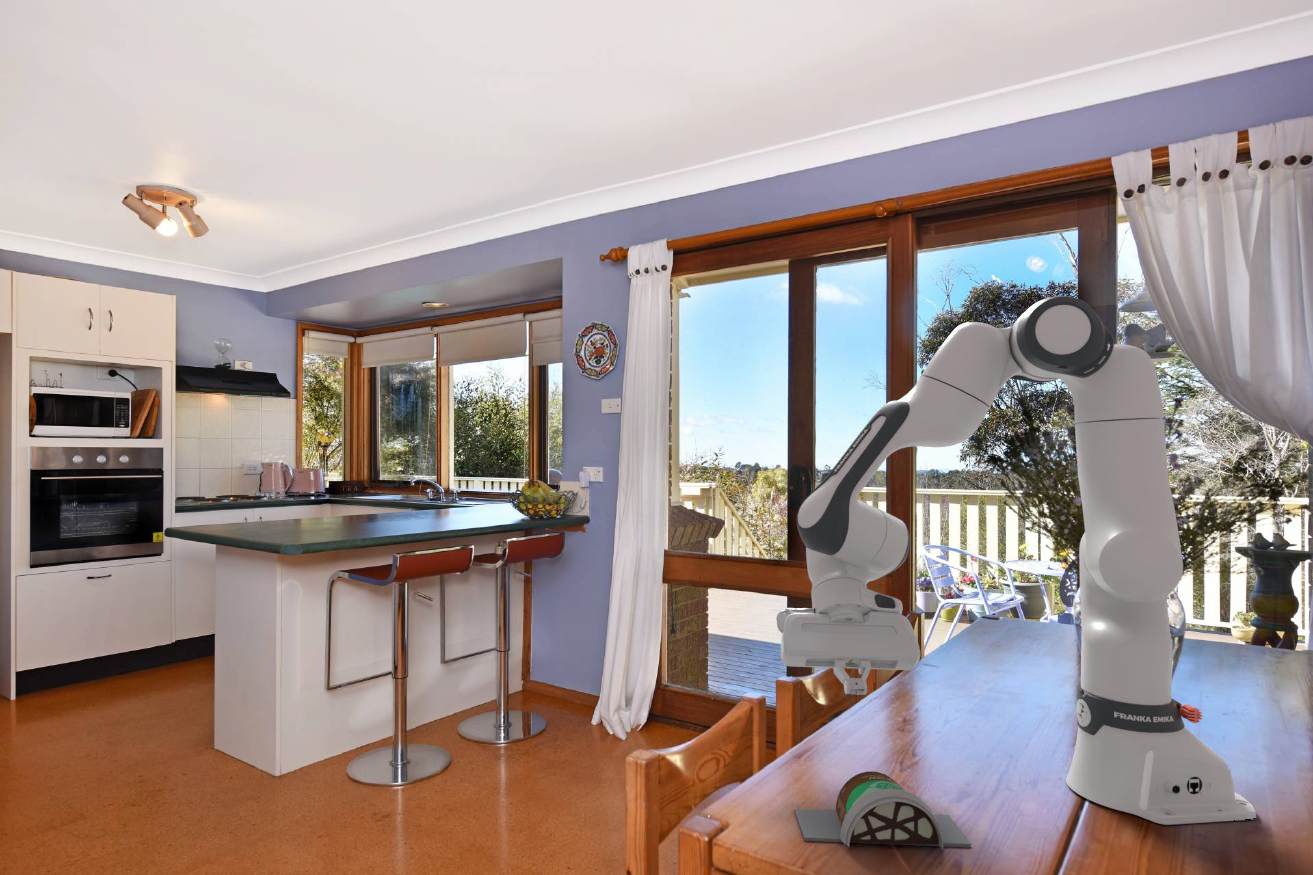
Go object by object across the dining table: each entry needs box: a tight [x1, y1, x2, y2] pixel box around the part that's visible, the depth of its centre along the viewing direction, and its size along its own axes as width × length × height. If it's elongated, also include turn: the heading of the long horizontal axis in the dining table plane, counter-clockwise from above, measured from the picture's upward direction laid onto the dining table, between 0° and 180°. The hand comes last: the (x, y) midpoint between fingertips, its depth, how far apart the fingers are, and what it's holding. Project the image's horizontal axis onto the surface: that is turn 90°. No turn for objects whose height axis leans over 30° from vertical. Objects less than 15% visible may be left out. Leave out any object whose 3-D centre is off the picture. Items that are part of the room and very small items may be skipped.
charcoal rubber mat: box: [793, 808, 972, 848], centre depth 96 cm, size 20×8×1 cm, turn 89°
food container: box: [835, 770, 944, 850], centre depth 96 cm, size 12×6×10 cm
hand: (856, 692), depth 110 cm, fingers closed
